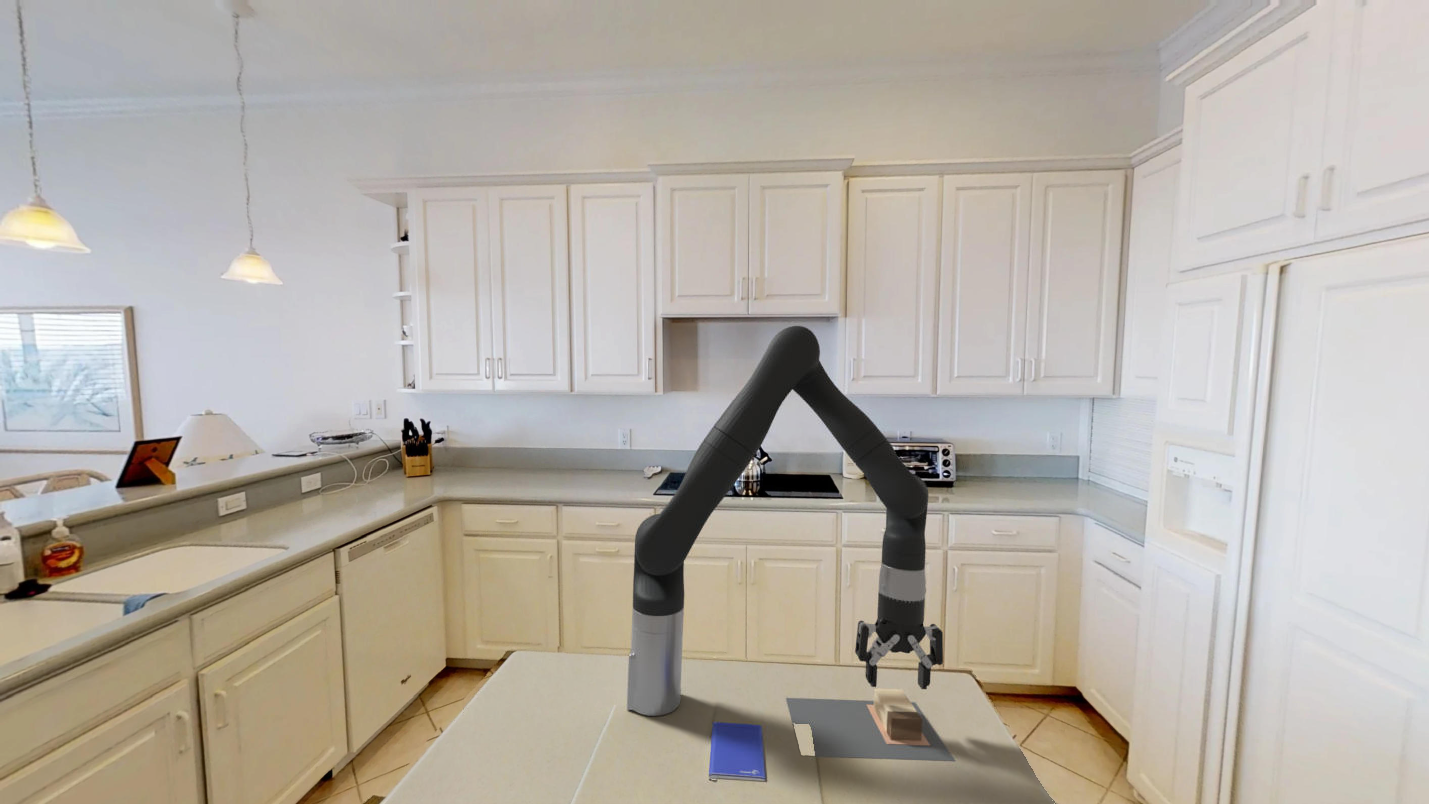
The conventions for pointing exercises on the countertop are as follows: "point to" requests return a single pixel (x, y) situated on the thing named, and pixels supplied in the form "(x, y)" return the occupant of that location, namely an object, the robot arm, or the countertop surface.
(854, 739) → the rubber mat
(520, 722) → the countertop surface
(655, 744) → the countertop surface
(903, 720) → the beige rectangular block
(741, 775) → the hard drive
